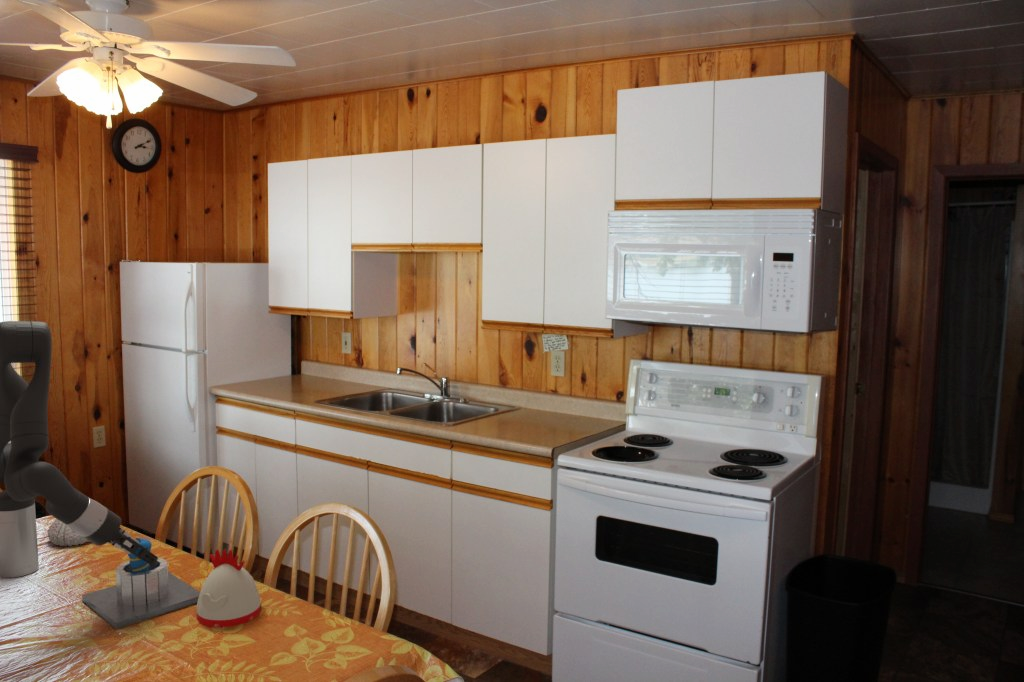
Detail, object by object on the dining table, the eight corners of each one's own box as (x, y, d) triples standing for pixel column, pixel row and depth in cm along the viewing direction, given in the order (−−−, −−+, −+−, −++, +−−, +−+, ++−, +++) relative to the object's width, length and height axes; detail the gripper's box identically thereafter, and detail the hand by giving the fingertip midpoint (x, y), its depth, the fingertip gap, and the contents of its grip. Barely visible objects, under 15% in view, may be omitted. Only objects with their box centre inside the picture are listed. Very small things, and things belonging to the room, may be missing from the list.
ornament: (158, 590, 194) (155, 530, 192) (147, 600, 189) (143, 538, 187) (138, 590, 195) (134, 529, 193) (126, 599, 190) (121, 537, 188)
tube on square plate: (82, 601, 192) (80, 566, 191) (166, 576, 206) (165, 543, 205) (116, 629, 178) (114, 592, 177) (204, 600, 193) (203, 566, 192)
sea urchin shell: (111, 533, 237) (110, 506, 236) (82, 550, 223) (81, 522, 222) (68, 531, 238) (66, 504, 237) (36, 548, 225) (35, 520, 224)
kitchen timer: (218, 597, 195) (216, 536, 193) (271, 603, 192) (270, 541, 190) (184, 623, 181) (181, 558, 180) (240, 630, 179) (238, 564, 177)
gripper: (117, 514, 179) (171, 550, 189) (92, 499, 189) (145, 535, 199) (93, 543, 176) (149, 579, 186) (69, 527, 186) (123, 562, 195)
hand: (147, 556), depth 192 cm, fingers open, 8 cm apart
